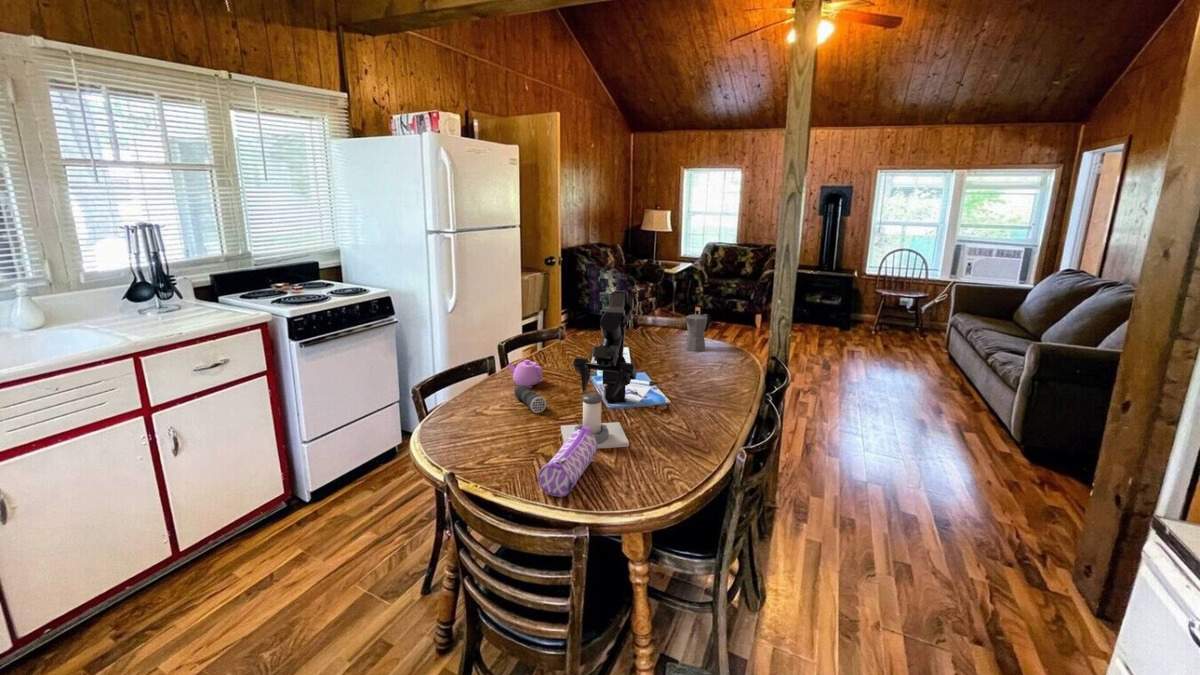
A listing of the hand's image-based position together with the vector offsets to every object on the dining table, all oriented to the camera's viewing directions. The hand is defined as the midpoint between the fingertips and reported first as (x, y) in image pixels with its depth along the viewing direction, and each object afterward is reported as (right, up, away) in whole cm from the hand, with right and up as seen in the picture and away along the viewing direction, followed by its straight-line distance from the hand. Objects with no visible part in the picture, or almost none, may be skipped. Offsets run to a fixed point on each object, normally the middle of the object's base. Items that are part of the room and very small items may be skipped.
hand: (598, 393), depth 160 cm
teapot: (-27, -1, +43) cm, 51 cm away
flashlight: (-23, -6, +23) cm, 33 cm away
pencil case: (-7, -19, -21) cm, 30 cm away
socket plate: (-1, -13, 0) cm, 13 cm away
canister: (-2, -12, -2) cm, 13 cm away
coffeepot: (+45, +11, +90) cm, 101 cm away
